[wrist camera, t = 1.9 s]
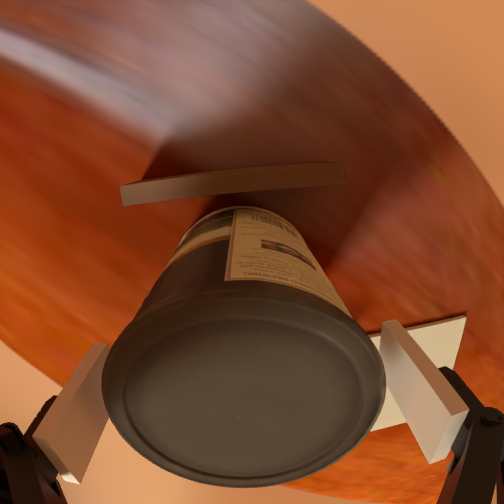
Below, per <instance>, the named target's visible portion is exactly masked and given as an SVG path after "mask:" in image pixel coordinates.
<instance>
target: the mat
mask: <svg viewBox="0 0 504 504" xmlns="http://www.w3.org/2000/svg"><path fill="white" fill-rule="evenodd" d="M465 321H466V317H465V316H464V315H462V316H458V317H453V318H449V319H445V320H441V321H436V322H432V323H427V324H422V325H418V326H413V327H408V328H405V330H406V331H407V332H408V333H409V334H410V336H411V337H412V338H413V339H414V340H415V341H416V343H417V344H418V345H419V346H420V347H421V349H422V350H423V351H424V352H425V353H426V355H427V356H428V357H429V358H430V360H431V361H432V362H433V363H434V364H435V366H436V367H437V368H440V367H444V366H447V367H448V368H450V369H453V366H454V363H455V359H456V356H457V352H458V349H459V345H460V341H461V337H462V333H463V329H464V325H465ZM368 336H369V337H370V339H371V340H372V342H373V343H374V345H375V346H376V348H377V350H378V352H379V346H380V338H381V333H375V334H370V335H368ZM405 422H407V421H406V420H405V418H404V416H403V414H402V412H401V410H400V409H399V407H398V405H397V403H396V401H395V400H394V398H393V396H392V394H391V392H390V391H389V389H388V387H387V385H386V395H385V401H384V404H383V407H382V410H381V412H380V415H379V416H378V419H377V421H376V422H375V424H374V426H373V427H372V429H371V430H370V431H374V430H378V429H382V428H386V427H390V426H394V425H397V424H401V423H405Z"/></svg>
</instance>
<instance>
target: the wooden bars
mask: <svg viewBox="0 0 504 504" xmlns="http://www.w3.org/2000/svg"><path fill="white" fill-rule="evenodd" d="M334 185H346V170H345V164H340V163H331V162H318V163H298V164H282V165H268V166H256V167H244V168H234V169H224V170H214V171H205V172H197V173H189V174H181V175H173V176H166V177H159V178H152V179H145V180H140V181H136V182H133V183H129V184H126V185H123V186H120V189H121V197H122V203H123V206H129V205H136V204H143V203H150V202H158V201H166V200H174V199H182V198H190V197H199V196H208V195H218V194H228V193H238V192H249V191H260V190H273V189H286V188H300V187H316V186H334Z"/></svg>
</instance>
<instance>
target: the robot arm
mask: <svg viewBox="0 0 504 504" xmlns="http://www.w3.org/2000/svg"><path fill="white" fill-rule="evenodd" d="M109 351H110V350H109V347H108V344H94V345H93V346H92V347H91V349H90V350H89V352H88V353H87V354H86V356H85V357H84V359H83V360H82V361H81V363H80V364H79V366H78V367H77V369H76V370H75V372H74V373H73V374H72V376H71V377H70V379H69V380H68V382H67V383H66V385H65V386H64V388H63V389H62V391H61V392H60V394H59V395H58V396H55V395H54V396H53V397H51V398H50V399H49V400H48V401H46V402H45V404H44V405H43V407H42V408H41V411H39V413H38V414H37V417H35V419H34V420H33V422H32V423H31V425H30V426H29V428H28V429H27V431H26V433H25V434H24V435H23V434H22V432H21V431H20V429H19V428H18V426H17V425H15V424H14V423H10V422H8V423H3V424H1V425H0V504H68V503H67V501H66V499H65V496H64V494H63V491H62V489H61V486H60V484H59V482H58V480H57V479H56V477H57V474H58V472H59V474H60V475H61V476H62V477H63V478H64V480H66V481H68V482H72V483H76V484H81V482H82V479H83V477H84V474H85V472H86V469H87V467H88V465H89V462H90V460H91V457H92V455H93V453H94V450H95V448H96V446H97V443H98V441H99V439H100V436H101V434H102V432H103V430H104V427H105V425H106V423H107V421H108V419H109V415H108V413H107V410H106V407H105V405H104V400H103V397H102V388H101V379H102V371H103V367H104V363H105V360H106V358H107V356H108V353H109ZM379 354H380V356H381V358H382V361H383V364H384V368H385V373H386V385H387V387H388V389H389V391H390V392H391V394H392V396H393V398H394V400H395V401H396V403H397V405H398V407H399V409H400V410H401V412H402V414H403V416H404V418H405V420H406V421H407V423H408V425H409V427H410V429H411V431H412V432H413V434H414V436H415V438H416V440H417V442H418V444H419V446H420V448H421V449H422V451H423V453H424V455H425V457H426V459H427V461H428V463H429V464H431V463H434V462H436V461H439V460H442V459H444V458H446V457H447V455H448V453H449V451H450V449H451V450H452V451H453V453H454V455H455V456H454V457H453V459H452V461H451V463H450V464H449V466H448V468H447V469H446V471H448V474H447V477H446V480H445V483H444V485H443V488H442V491H441V494H440V496H439V499H438V501H437V504H491V501H492V497H493V493H494V489H495V484H497V485H496V486H497V504H504V414H502V412H500V411H499V410H498V409H495V408H492V407H484V406H483V405H482V403H481V402H480V401H479V400H478V398H477V397H476V396H475V395H474V394H473V392H472V391H471V390H470V389H469V387H468V386H466V384H465V383H464V381H463V380H461V378H460V377H459V376H458V374H457V373H456V372H455V371H453V370H452V369H450V368H448V367H447V366H444V367H440V368H437V367H436V366H435V364H434V363H433V362H432V361H431V360H430V358H429V357H428V356H427V355H426V353H425V352H424V351H423V350H422V349H421V347H420V346H419V345H418V344H417V343H416V341H415V340H414V339H413V338H412V337H411V336H410V334H409V333H408V332H407V331H406V330H405V328H404V327H403V326H402V325H401V324H400V323H399V321H398V320H397V319H395V320H389V321H384V322H382V330H381V338H380V346H379Z"/></svg>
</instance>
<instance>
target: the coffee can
mask: <svg viewBox="0 0 504 504" xmlns="http://www.w3.org/2000/svg"><path fill="white" fill-rule="evenodd" d="M101 388H102V397H103V400H104V405H105V407H106V410H107V413H108V415H109V417H110V419H111V421H112V423H113V424H114V426H115V427H116V429H117V431H118V432H119V434H120V435H121V436H122V437H123V439H124V440H125V441H126V442H127V443H128V444H129V445H130V446H131V447H132V448H133V449H134V450H135V451H137V452H138V453H139V454H140V455H142V456H143V457H144V458H146V459H148V460H149V461H150V462H152V463H153V464H155V465H157V466H159V467H160V468H162V469H164V470H166V471H168V472H170V473H173V474H175V475H177V476H180V477H183V478H186V479H189V480H192V481H195V482H199V483H203V484H208V485H213V486H221V487H230V488H231V487H232V488H257V487H266V486H273V485H279V484H284V483H288V482H292V481H296V480H299V479H302V478H305V477H307V476H310V475H313V474H315V473H317V472H319V471H321V470H323V469H325V468H327V467H329V466H331V465H333V464H334V463H336V462H338V461H339V460H340V459H342V458H343V457H344V456H346V455H347V454H348V453H350V452H351V451H352V450H353V449H354V448H355V447H356V446H357V445H358V444H359V443H360V442H361V441H362V440H363V439H364V438H365V437H366V436H367V434H368V433H369V432H370V430H371V429H372V427H373V426H374V424H375V422H376V421H377V419H378V416H379V415H380V412H381V410H382V407H383V404H384V401H385V395H386V373H385V368H384V364H383V361H382V358H381V356H380V354H379V352H378V350H377V348H376V346H375V345H374V343H373V342H372V340H371V339H370V337H369V336H368V335H367V333H366V332H365V330H364V329H363V328H362V327H361V326H360V325H359V324H358V323H357V322H356V321H355V320H354V319H353V317H352V315H351V313H350V312H349V310H348V309H347V307H346V305H345V303H344V302H343V301H342V299H341V298H340V296H339V294H338V292H337V291H336V290H335V288H334V286H333V285H332V283H331V282H330V280H329V279H328V277H327V276H326V274H325V273H324V271H323V270H322V268H321V266H320V265H319V263H318V262H317V260H316V259H315V257H314V256H313V254H312V253H311V251H310V250H309V248H308V247H307V245H306V243H305V241H304V239H303V237H302V236H301V235H300V233H299V232H298V230H297V229H296V228H295V227H294V226H293V225H292V224H291V223H290V222H288V221H287V220H285V219H284V218H282V217H281V216H279V215H277V214H275V213H273V212H271V211H268V210H265V209H262V208H258V207H252V206H232V207H228V208H223V209H219V210H217V211H214V212H212V213H210V214H208V215H206V216H205V217H203V218H202V219H200V220H199V221H197V222H196V223H195V224H194V225H193V226H192V227H191V228H190V229H189V230H188V231H187V232H186V234H185V235H184V236H183V238H182V240H181V242H180V244H179V246H178V248H177V250H176V251H175V253H174V254H173V256H172V258H171V259H170V261H169V262H168V264H167V266H166V267H165V269H164V270H163V272H162V274H161V275H160V277H159V278H158V280H157V281H156V283H155V284H154V286H153V288H152V289H151V291H150V292H149V294H148V295H147V297H146V298H145V300H144V302H143V303H142V305H141V307H140V309H139V311H138V312H137V314H136V316H135V318H134V319H133V320H132V321H131V322H130V323H129V324H128V325H127V327H126V328H125V329H124V330H123V331H122V333H121V334H120V335H119V337H118V338H117V340H116V341H115V343H114V344H113V346H112V347H111V349H110V351H109V353H108V356H107V358H106V360H105V363H104V367H103V371H102V379H101Z"/></svg>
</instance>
